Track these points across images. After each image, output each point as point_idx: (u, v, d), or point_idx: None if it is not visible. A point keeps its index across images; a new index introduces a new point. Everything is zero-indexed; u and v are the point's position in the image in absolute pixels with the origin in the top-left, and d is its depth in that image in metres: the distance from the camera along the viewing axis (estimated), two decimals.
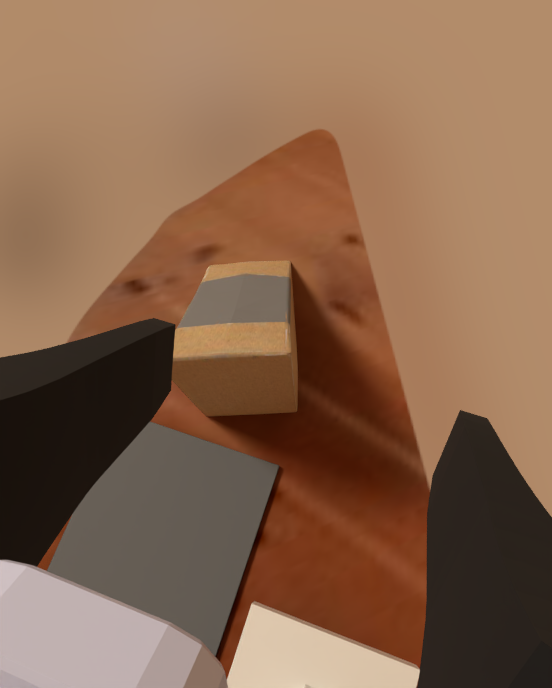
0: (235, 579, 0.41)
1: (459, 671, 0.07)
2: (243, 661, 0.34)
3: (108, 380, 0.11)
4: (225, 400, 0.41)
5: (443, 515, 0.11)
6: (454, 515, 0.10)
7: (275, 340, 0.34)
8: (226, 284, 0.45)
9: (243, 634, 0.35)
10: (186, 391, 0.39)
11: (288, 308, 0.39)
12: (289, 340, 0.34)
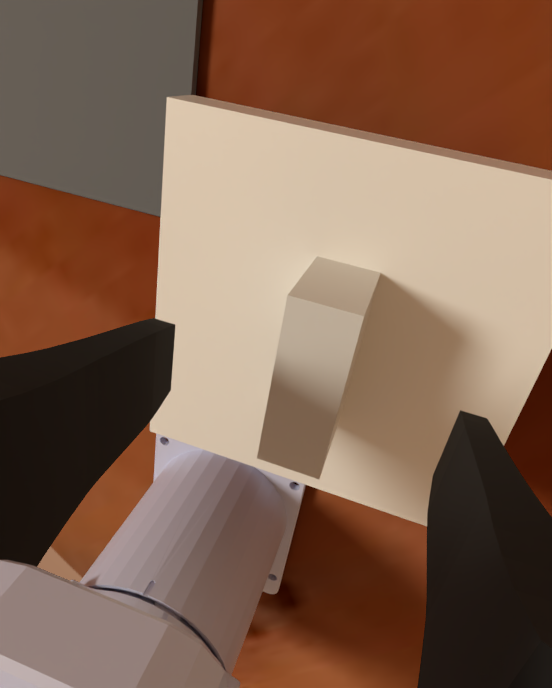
0: (182, 64, 0.19)
1: (459, 671, 0.07)
2: (180, 226, 0.15)
3: (108, 380, 0.11)
4: None
5: (443, 515, 0.11)
6: (454, 515, 0.10)
7: None
8: None
9: (166, 171, 0.15)
10: None
11: None
12: None
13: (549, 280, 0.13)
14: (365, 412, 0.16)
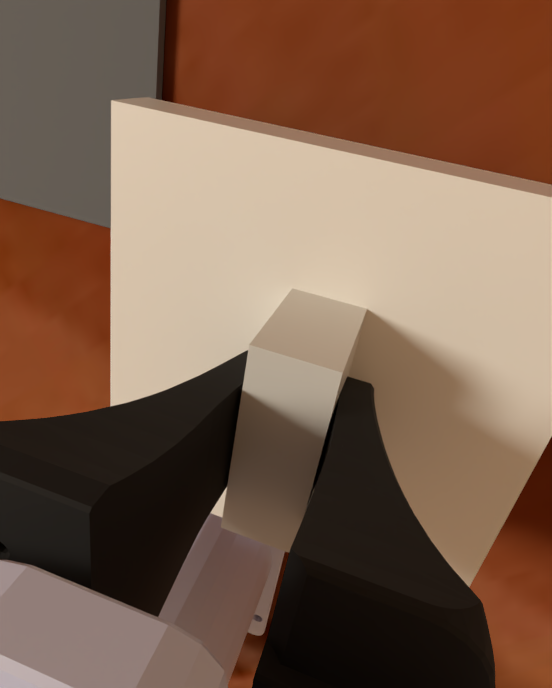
0: (145, 61, 0.16)
1: None
2: (133, 251, 0.13)
3: (226, 419, 0.10)
4: None
5: (319, 473, 0.11)
6: (321, 470, 0.10)
7: None
8: None
9: (115, 188, 0.13)
10: None
11: None
12: None
13: None
14: None
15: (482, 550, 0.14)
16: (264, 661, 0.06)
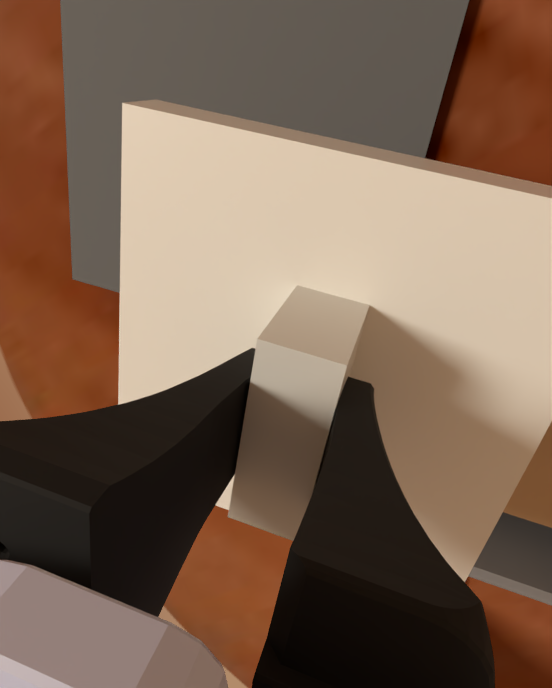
0: None
1: None
2: (142, 249, 0.14)
3: (226, 419, 0.10)
4: None
5: (319, 473, 0.11)
6: None
7: None
8: None
9: (125, 187, 0.13)
10: None
11: None
12: None
13: None
14: None
15: (480, 539, 0.14)
16: (264, 661, 0.06)
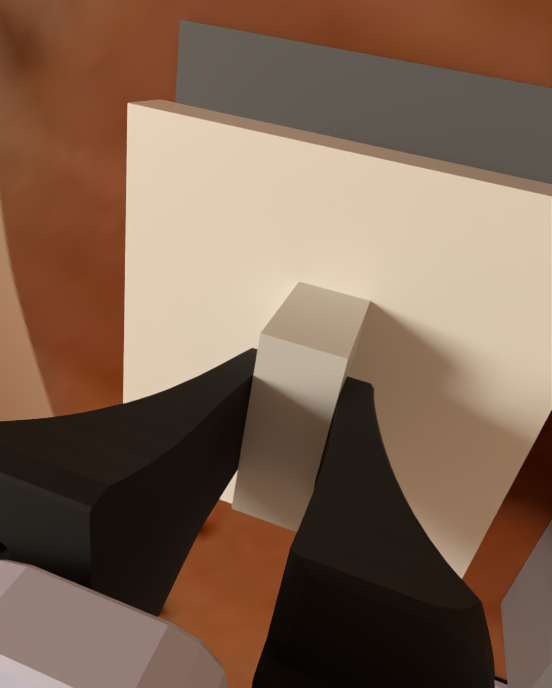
0: None
1: None
2: (147, 246, 0.14)
3: (226, 419, 0.10)
4: None
5: (319, 473, 0.11)
6: None
7: None
8: None
9: (130, 186, 0.13)
10: None
11: None
12: None
13: None
14: None
15: (479, 531, 0.15)
16: (264, 661, 0.06)
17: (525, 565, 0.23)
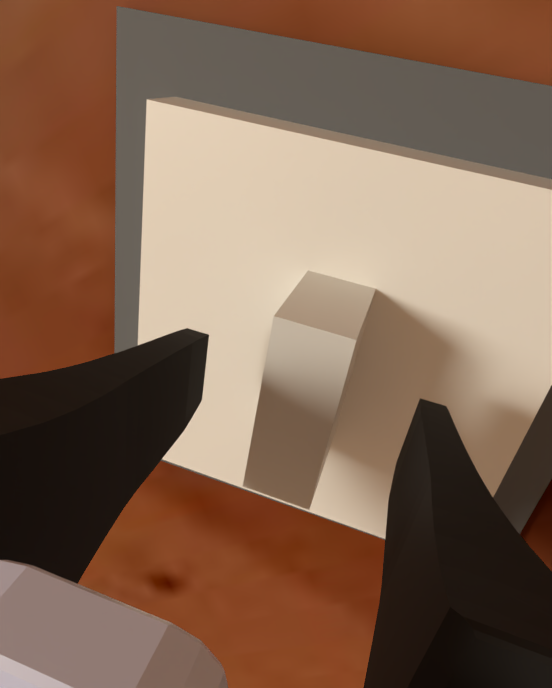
0: (549, 453, 0.16)
1: (395, 646, 0.07)
2: (162, 236, 0.14)
3: (148, 393, 0.11)
4: None
5: (399, 500, 0.11)
6: (407, 499, 0.10)
7: None
8: None
9: (147, 179, 0.14)
10: None
11: None
12: None
13: None
14: (359, 434, 0.15)
15: None
16: None
17: None
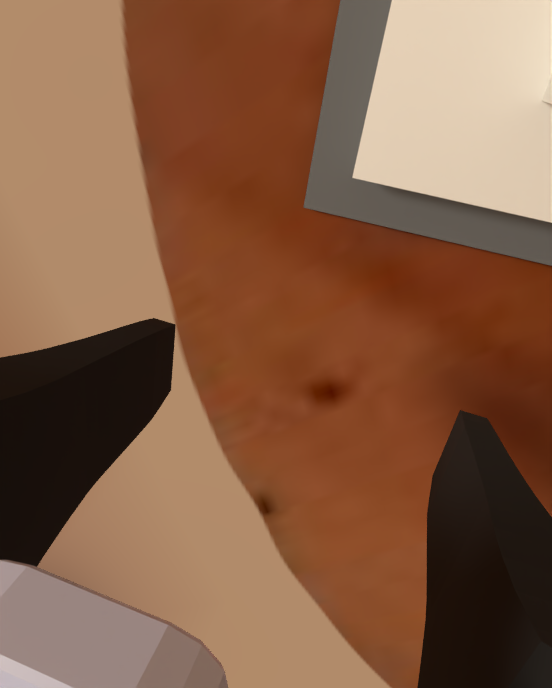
0: None
1: (459, 671, 0.07)
2: None
3: (108, 380, 0.11)
4: None
5: (443, 515, 0.11)
6: (454, 515, 0.10)
7: None
8: None
9: None
10: None
11: None
12: None
13: None
14: None
15: None
16: None
17: None
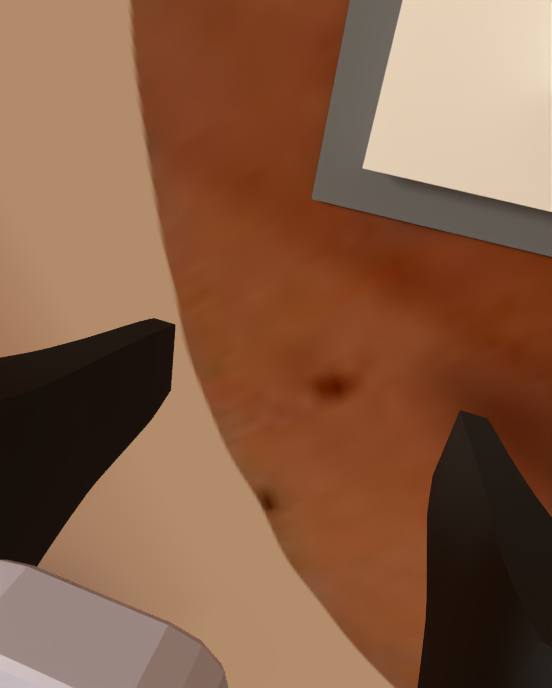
0: None
1: (459, 671, 0.07)
2: None
3: (108, 380, 0.11)
4: None
5: (443, 515, 0.11)
6: (454, 515, 0.10)
7: None
8: None
9: None
10: None
11: None
12: None
13: None
14: None
15: None
16: None
17: None
